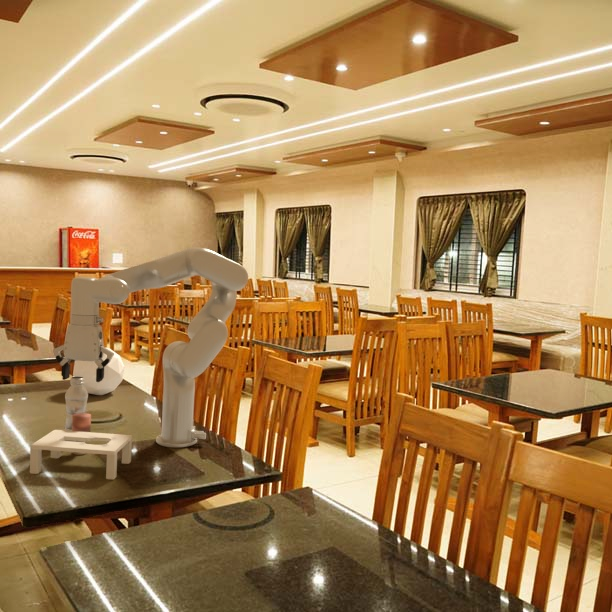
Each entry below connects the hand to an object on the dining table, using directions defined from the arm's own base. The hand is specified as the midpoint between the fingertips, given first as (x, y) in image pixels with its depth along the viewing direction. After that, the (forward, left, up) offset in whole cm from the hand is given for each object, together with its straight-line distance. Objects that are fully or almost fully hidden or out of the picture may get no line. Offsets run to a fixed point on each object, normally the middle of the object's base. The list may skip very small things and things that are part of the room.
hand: (82, 380), depth 174 cm
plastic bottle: (+5, -8, -21) cm, 23 cm away
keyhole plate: (-5, +11, -21) cm, 24 cm away
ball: (+21, -69, -22) cm, 75 cm away
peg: (0, 0, -21) cm, 21 cm away
